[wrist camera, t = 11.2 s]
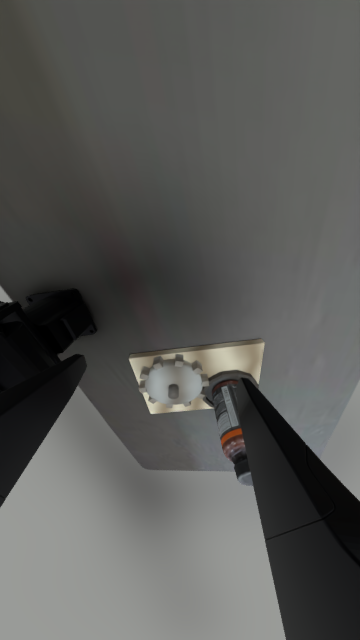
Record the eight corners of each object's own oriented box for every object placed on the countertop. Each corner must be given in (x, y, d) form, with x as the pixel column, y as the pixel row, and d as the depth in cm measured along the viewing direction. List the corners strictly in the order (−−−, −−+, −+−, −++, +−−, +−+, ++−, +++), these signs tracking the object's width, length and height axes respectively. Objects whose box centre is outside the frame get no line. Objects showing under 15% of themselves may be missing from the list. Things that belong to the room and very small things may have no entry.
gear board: (151, 408, 32) (148, 430, 28) (130, 354, 24) (122, 374, 21) (253, 399, 30) (262, 420, 27) (261, 338, 23) (276, 357, 20)
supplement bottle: (253, 386, 27) (296, 477, 17) (229, 404, 29) (255, 492, 19) (227, 373, 25) (258, 464, 15) (203, 393, 28) (218, 483, 18)
